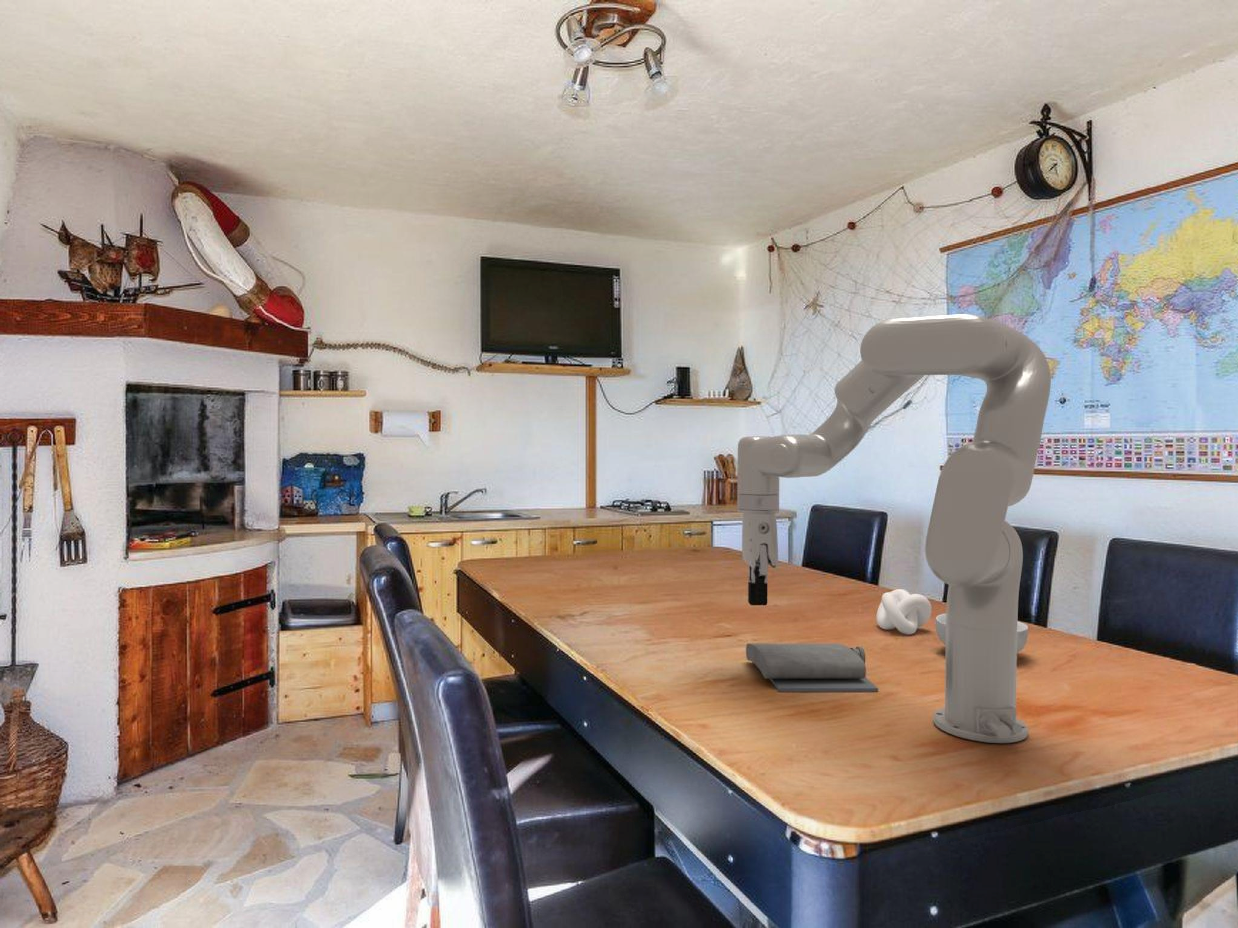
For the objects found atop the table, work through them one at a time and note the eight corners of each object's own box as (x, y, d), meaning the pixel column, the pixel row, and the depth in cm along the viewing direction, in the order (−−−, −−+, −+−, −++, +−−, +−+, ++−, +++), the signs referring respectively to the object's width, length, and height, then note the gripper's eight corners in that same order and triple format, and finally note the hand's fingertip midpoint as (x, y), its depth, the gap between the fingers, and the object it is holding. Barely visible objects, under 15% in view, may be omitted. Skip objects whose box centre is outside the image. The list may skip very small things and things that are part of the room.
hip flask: (766, 680, 131) (879, 680, 133) (767, 656, 131) (880, 657, 133) (745, 658, 147) (847, 658, 148) (746, 637, 147) (847, 637, 149)
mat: (878, 691, 130) (878, 688, 130) (778, 691, 129) (778, 688, 129) (841, 659, 150) (841, 656, 150) (755, 659, 149) (755, 656, 149)
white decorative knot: (922, 625, 179) (923, 587, 179) (938, 638, 167) (939, 597, 167) (873, 624, 180) (873, 586, 180) (885, 636, 169) (886, 596, 168)
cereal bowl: (974, 670, 143) (975, 633, 143) (917, 648, 159) (917, 614, 159) (1048, 664, 147) (1048, 627, 147) (985, 643, 163) (985, 610, 163)
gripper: (788, 507, 131) (788, 613, 132) (769, 501, 146) (769, 596, 147) (745, 507, 131) (745, 613, 131) (730, 501, 146) (730, 596, 146)
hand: (757, 604), depth 139 cm, fingers closed
